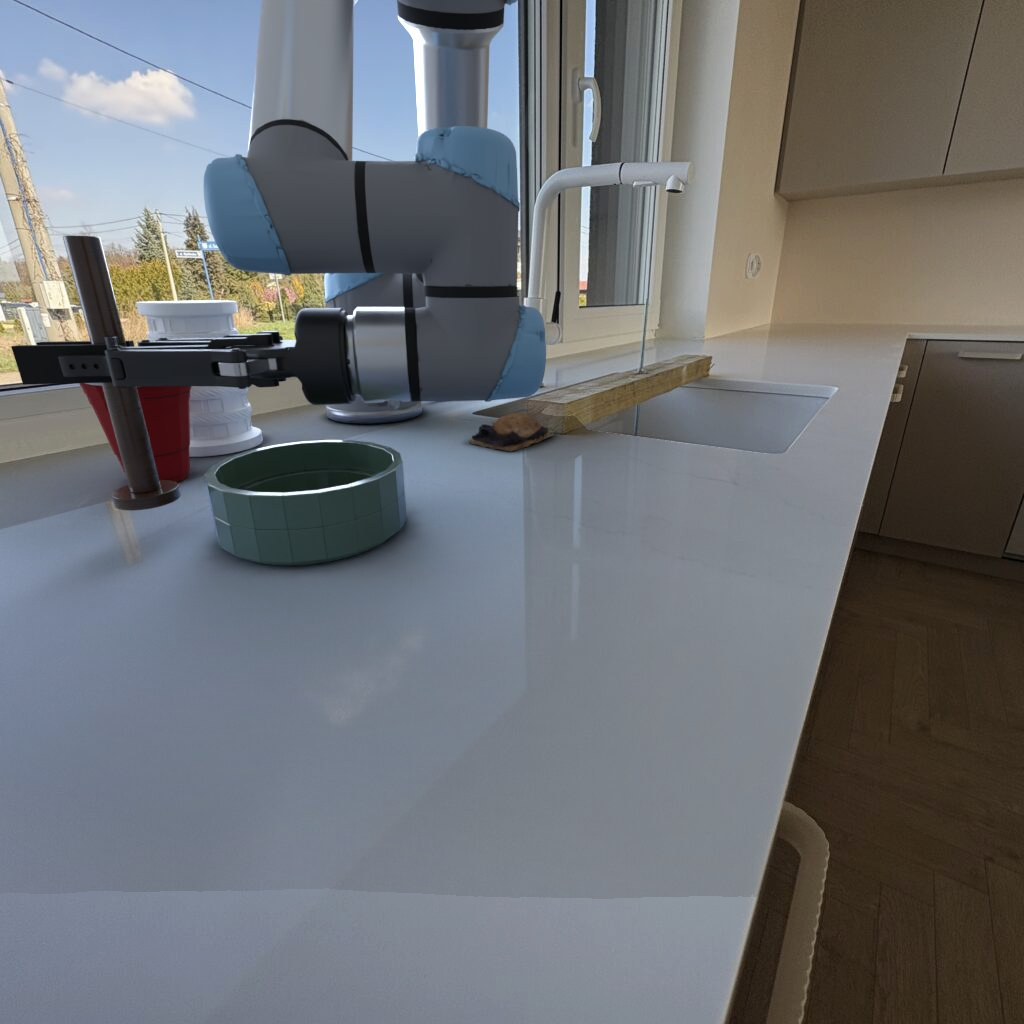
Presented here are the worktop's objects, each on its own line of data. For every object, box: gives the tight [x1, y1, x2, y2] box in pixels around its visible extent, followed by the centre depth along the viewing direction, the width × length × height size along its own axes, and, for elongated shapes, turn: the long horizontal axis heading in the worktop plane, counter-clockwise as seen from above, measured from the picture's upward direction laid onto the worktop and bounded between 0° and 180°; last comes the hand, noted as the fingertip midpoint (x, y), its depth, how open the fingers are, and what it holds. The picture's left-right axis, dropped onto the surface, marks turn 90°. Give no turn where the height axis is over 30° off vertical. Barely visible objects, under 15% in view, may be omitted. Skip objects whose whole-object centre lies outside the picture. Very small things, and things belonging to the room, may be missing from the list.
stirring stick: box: [62, 234, 182, 511], centre depth 44 cm, size 5×5×20 cm
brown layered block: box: [468, 412, 554, 453], centre depth 78 cm, size 11×8×4 cm
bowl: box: [203, 439, 408, 566], centre depth 49 cm, size 16×16×6 cm
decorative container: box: [135, 299, 264, 458], centre depth 73 cm, size 12×12×18 cm
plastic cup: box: [78, 383, 191, 483], centre depth 61 cm, size 11×11×12 cm
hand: (33, 362), depth 43 cm, fingers closed on stirring stick, 2 cm apart
